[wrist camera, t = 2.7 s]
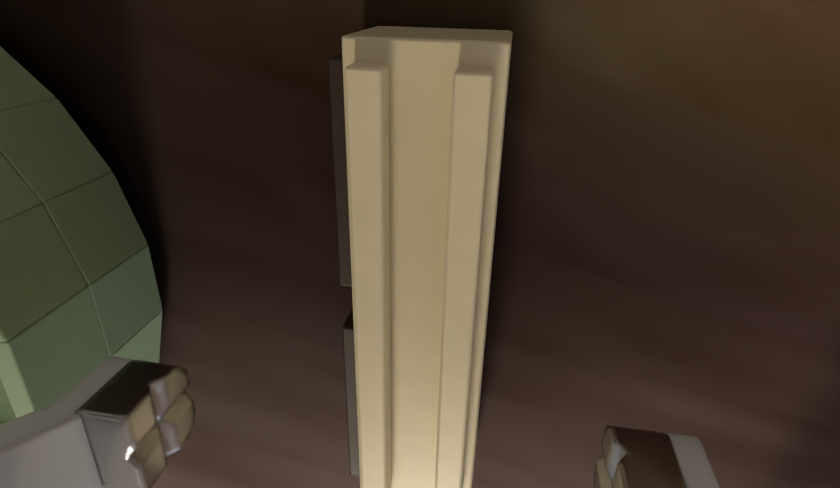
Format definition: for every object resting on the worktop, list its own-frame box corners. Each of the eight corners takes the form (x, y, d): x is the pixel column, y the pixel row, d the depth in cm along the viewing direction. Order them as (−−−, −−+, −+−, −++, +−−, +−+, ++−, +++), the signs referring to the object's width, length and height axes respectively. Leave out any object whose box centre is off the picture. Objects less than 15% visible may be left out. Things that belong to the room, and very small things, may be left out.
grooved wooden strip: (361, 25, 13) (309, 38, 10) (513, 30, 12) (510, 45, 9) (371, 422, 18) (341, 513, 15) (476, 437, 18) (467, 534, 15)
